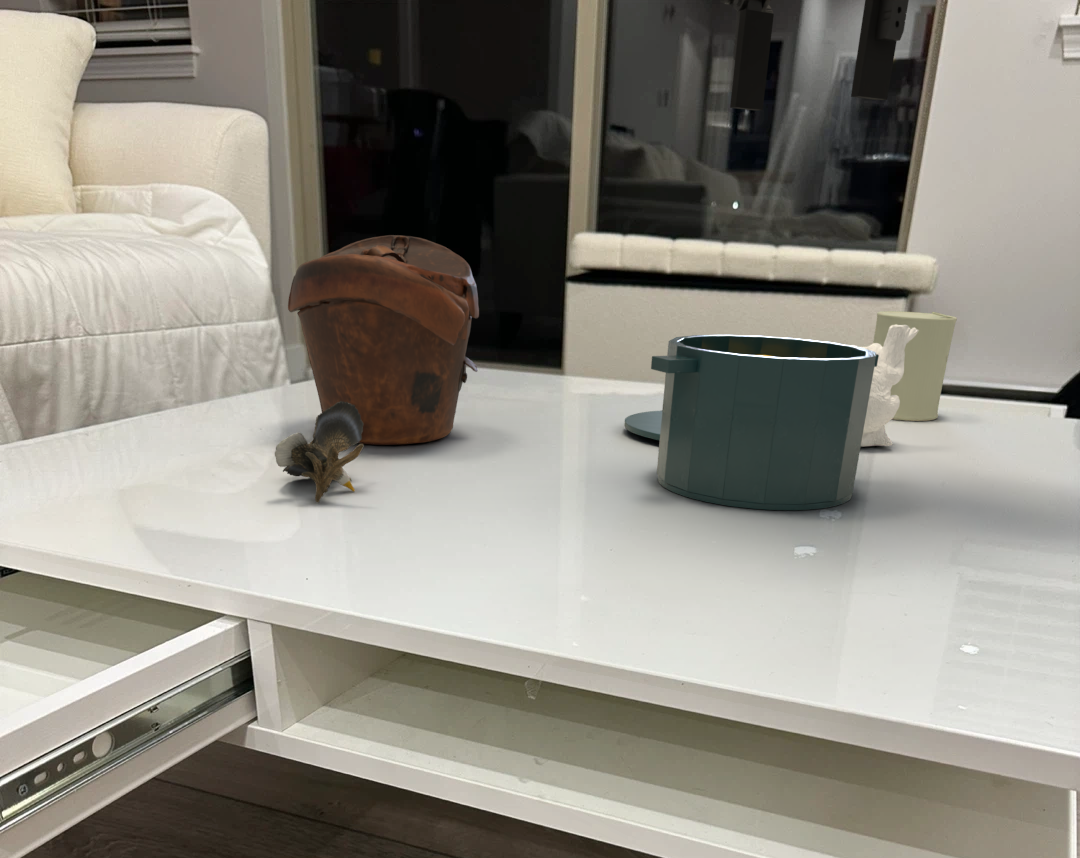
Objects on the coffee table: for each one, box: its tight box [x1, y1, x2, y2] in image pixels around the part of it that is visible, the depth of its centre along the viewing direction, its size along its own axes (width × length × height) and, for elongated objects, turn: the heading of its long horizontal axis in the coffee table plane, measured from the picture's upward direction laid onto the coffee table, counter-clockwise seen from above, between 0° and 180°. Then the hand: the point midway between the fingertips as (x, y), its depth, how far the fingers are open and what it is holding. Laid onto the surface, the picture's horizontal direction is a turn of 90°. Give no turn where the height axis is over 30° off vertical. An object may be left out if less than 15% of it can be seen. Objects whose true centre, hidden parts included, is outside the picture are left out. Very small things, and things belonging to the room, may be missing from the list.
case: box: [287, 234, 480, 446], centre depth 101 cm, size 18×20×18 cm
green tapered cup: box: [872, 310, 958, 422], centre depth 127 cm, size 9×9×12 cm
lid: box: [623, 410, 662, 442], centre depth 110 cm, size 18×18×4 cm
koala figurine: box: [850, 325, 919, 448], centre depth 108 cm, size 8×7×12 cm
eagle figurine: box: [274, 401, 365, 503], centre depth 82 cm, size 8×7×9 cm
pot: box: [650, 334, 879, 511], centre depth 89 cm, size 17×22×12 cm
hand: (803, 104), depth 79 cm, fingers open, 13 cm apart
